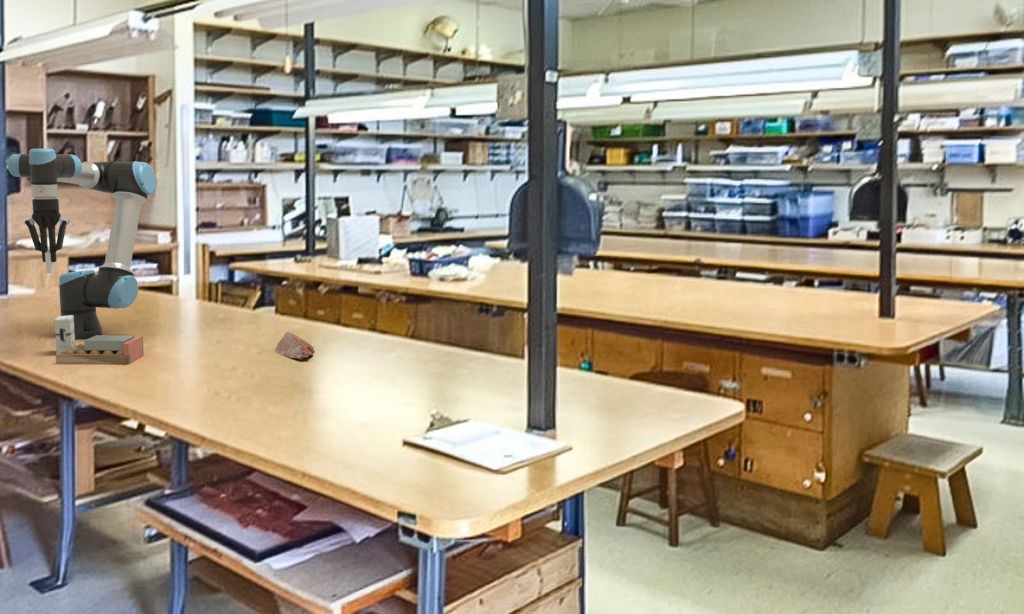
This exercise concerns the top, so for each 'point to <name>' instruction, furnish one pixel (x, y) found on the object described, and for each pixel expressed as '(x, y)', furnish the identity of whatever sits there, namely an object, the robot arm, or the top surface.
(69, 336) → the ink box
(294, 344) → the rock
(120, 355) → the roller bed
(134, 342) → the stop rail
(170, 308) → the top surface
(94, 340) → the stone slab
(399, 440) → the top surface
